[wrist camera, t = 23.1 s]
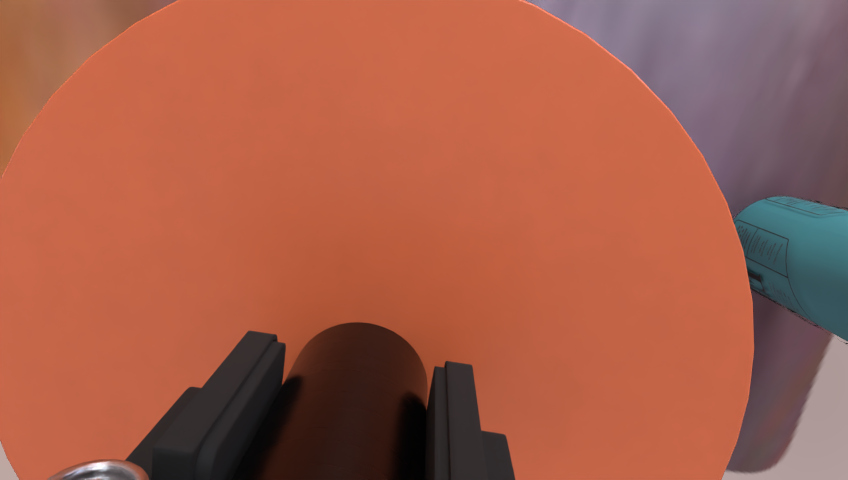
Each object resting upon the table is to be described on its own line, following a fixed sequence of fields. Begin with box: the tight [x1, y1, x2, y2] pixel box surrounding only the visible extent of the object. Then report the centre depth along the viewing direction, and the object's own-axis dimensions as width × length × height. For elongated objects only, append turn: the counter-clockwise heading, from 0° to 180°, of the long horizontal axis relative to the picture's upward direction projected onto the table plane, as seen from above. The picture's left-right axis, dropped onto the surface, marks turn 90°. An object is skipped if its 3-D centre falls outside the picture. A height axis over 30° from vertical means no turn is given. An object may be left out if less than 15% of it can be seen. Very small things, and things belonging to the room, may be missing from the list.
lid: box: [0, 0, 754, 480], centre depth 10 cm, size 17×17×8 cm
